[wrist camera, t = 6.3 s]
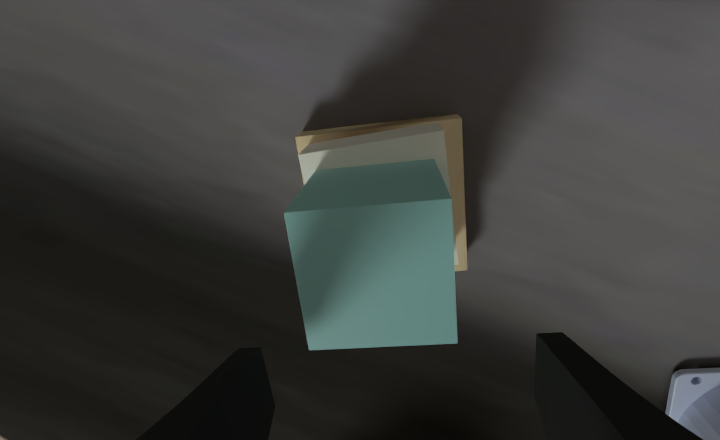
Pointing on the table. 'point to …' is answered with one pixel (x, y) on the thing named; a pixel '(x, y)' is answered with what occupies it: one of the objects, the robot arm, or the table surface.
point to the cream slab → (380, 152)
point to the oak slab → (453, 153)
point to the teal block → (374, 256)
